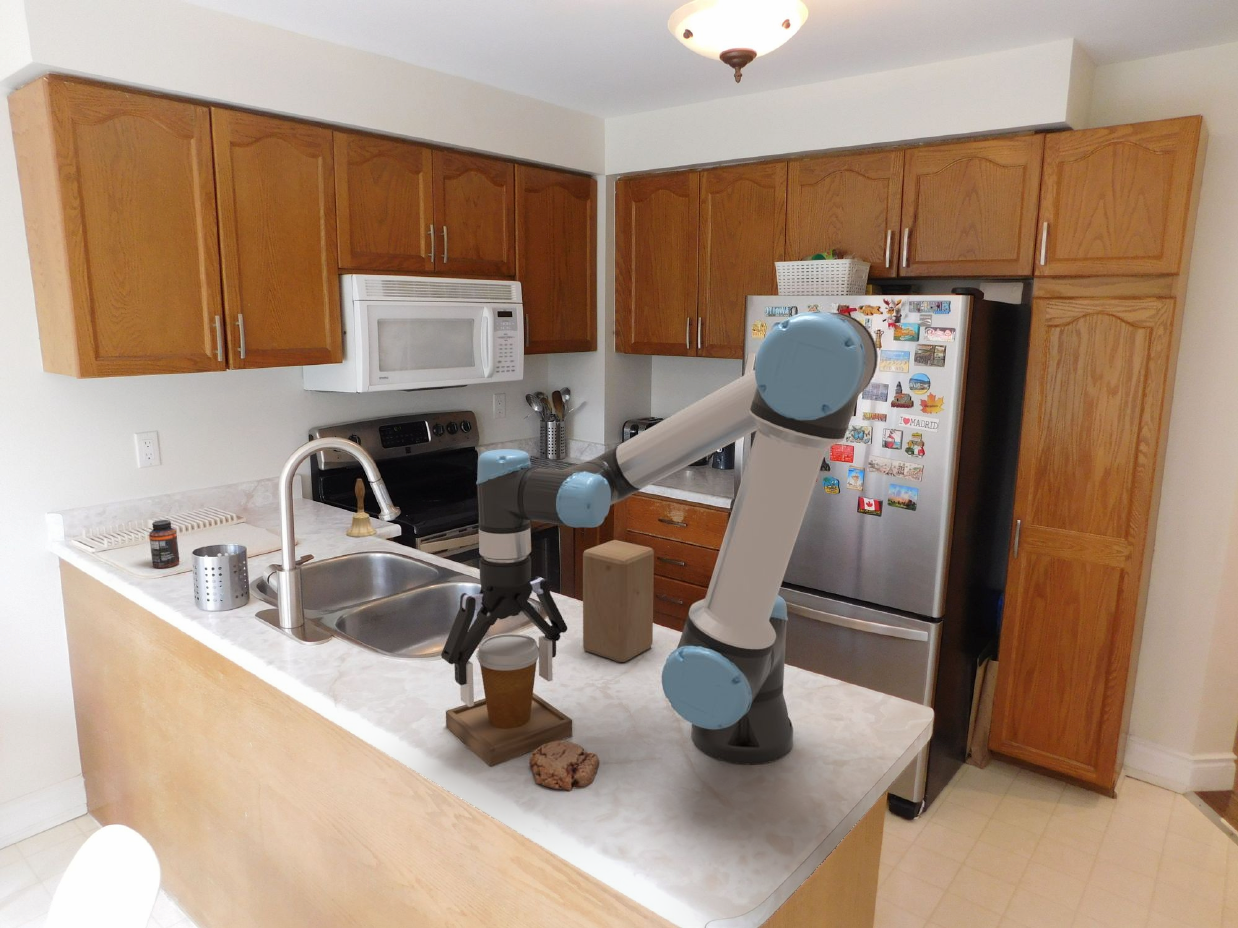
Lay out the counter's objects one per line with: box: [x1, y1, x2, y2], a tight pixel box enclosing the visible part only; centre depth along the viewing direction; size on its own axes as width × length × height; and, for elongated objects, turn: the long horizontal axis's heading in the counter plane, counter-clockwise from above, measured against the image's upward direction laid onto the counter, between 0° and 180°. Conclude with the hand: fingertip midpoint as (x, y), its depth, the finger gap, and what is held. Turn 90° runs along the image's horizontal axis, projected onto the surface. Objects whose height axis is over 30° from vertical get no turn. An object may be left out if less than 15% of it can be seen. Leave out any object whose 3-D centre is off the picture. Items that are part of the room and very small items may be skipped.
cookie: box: [528, 740, 601, 792], centre depth 114 cm, size 10×11×3 cm
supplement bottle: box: [148, 519, 180, 569], centre depth 201 cm, size 6×6×11 cm
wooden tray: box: [445, 692, 573, 767], centre depth 124 cm, size 14×14×3 cm
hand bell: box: [345, 478, 378, 538], centre depth 231 cm, size 8×8×16 cm
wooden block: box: [582, 539, 655, 663], centre depth 153 cm, size 10×10×20 cm
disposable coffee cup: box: [475, 633, 540, 728], centre depth 123 cm, size 10×10×12 cm
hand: (507, 690), depth 123 cm, fingers open, 13 cm apart
